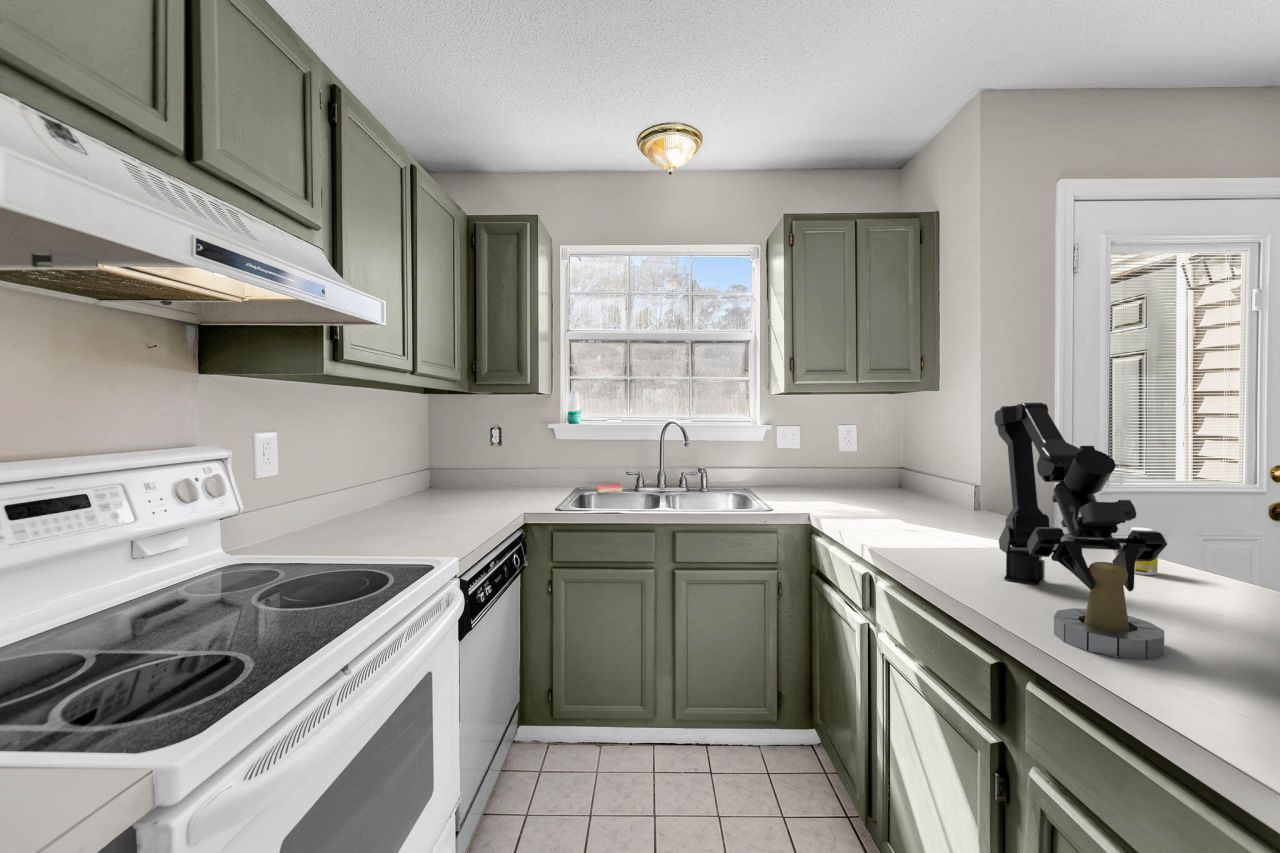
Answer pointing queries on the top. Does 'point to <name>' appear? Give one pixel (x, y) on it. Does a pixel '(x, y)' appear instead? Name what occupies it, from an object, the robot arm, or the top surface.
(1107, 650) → the ring
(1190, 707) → the top surface
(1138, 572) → the supplement bottle
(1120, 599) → the cork
